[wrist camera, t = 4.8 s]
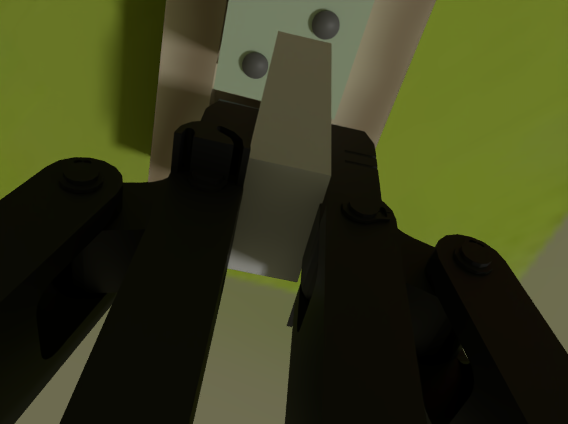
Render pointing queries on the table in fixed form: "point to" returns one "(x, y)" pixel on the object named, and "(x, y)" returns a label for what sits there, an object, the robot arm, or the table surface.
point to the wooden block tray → (201, 94)
